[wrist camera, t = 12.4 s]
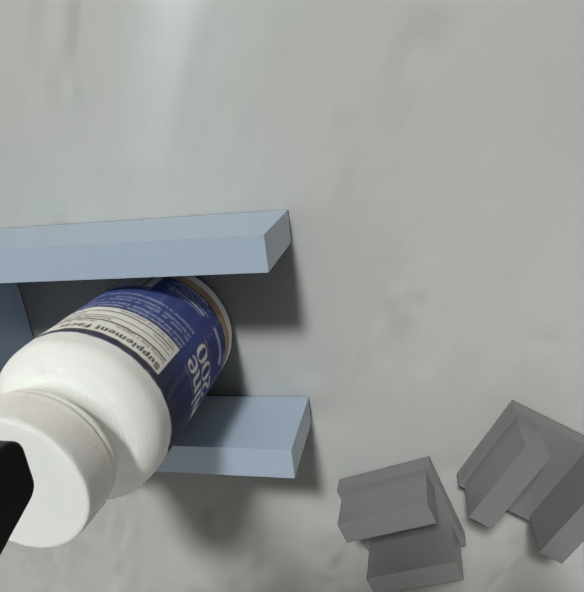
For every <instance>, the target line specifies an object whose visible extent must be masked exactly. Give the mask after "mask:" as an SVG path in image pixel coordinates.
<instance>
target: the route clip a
mask: <svg viewBox="0 0 584 592" xmlns="http://www.w3.org/2000/svg"><path fill="white" fill-rule="evenodd" d="M337 492H338V494H339V496H340V498H341V499H342V502H341V508H340V514H339V520H338V526H339V528H340V530H341V532H342V534H343V536H344V538H345V539H346V541H347V543H348V542H352V541H357V540H361V539H363V541H364V543H365V545H366V547H367V549H368V550H369V559H368V570H367V580H368V582H369V584H370V586H371V588H372V590H373V591H374V592H397V591H403V590H409V589H414V588H420V587H425V586H431V585H436V584H442V583H447V582H453V581H459V580H464V578H463V568H462V559H461V549H460V546H463V545H466V541H465V532H464V530H463V528H462V526H461V524H460V522H459V519H458V517H457V515H456V513H455V511H454V509H453V507H452V504H451V502H450V500H449V498H448V496H447V494H446V492H445V489H444V487H443V485H442V483H441V481H440V479H439V477H438V474H437V472H436V470H435V468H434V466H433V464H432V462H431V459H430V457H426V458H422V459H418V460H414V461H410V462H406V463H403V464H399V465H395V466H391V467H387V468H383V469H379V470H376V471H372V472H368V473H364V474H360V475H356V476H353V477H349V478H345V479H341V480H339V484H338V489H337Z"/></svg>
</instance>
